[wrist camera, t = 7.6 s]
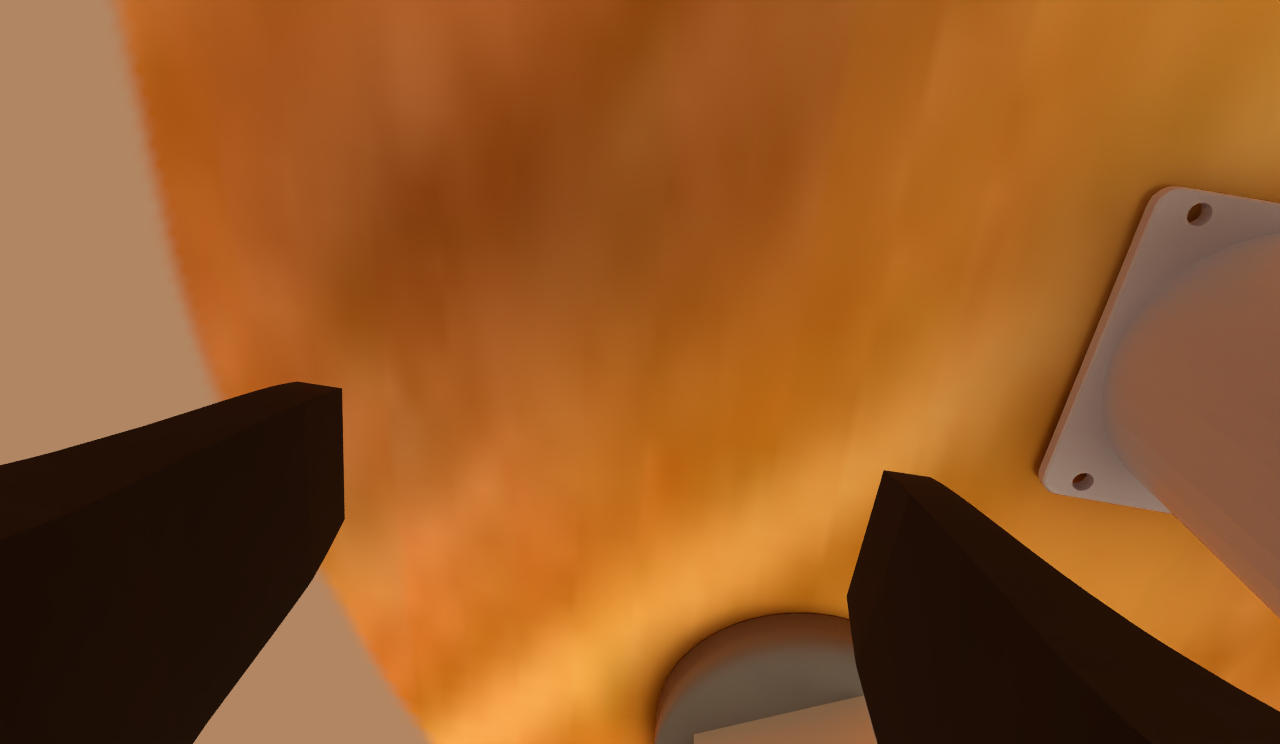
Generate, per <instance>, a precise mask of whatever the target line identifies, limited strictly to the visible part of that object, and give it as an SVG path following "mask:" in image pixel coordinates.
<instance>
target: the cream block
mask: <svg viewBox="0 0 1280 744" xmlns="http://www.w3.org/2000/svg"><path fill="white" fill-rule="evenodd" d="M694 744H877V740H876V737H875V733H874V730H873V726H872V723H871V719H870V715H869V712H868V708H867V704H866V701H865V698H864V695H863V696H859V697H854V698H850V699H846V700H841V701H837V702H833V703H828V704H824V705H820V706H815V707H811V708H806V709H802V710H798V711H793V712H789V713H785V714H780V715H776V716H772V717H767V718H763V719H759V720H754V721H750V722H745V723H741V724H737V725H732V726H728V727H724V728H719V729H715V730H711V731H706V732H702V733H698V734H694Z"/></svg>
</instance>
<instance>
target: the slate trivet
mask: <svg viewBox="0 0 1280 744" xmlns="http://www.w3.org/2000/svg"><path fill="white" fill-rule="evenodd" d="M863 695H864V693H863V690H862V686H861V682H860V679H859V675H858V671H857V667H856V662H855V655H854V649H853V642H852V635H851V627H850V620H847V619H843V618H839V617H834V616H828V615H820V614H810V613H789V614H778V615H770V616H765V617H760V618H754V619H751V620H747V621H744V622H741V623H738V624H735V625H732V626H730V627H728V628H726V629H723V630H721V631H719V632H717V633H715V634H713V635H712V636H710V637H708V638H707V639H705V640H703V641H702V642H700V643H699V644H698V645H697V646H695V647H694V648H693V649H692V650H690V651H689V652H688V653H687V654H686V655H685V656H684V657H683V658H682V659H681V660H680V661H679V662H678V663H677V665H676V666H675V668H674V669H673V670H672V672H671V673H670V675H669V676H668V678H667V680H666V682H665V684H664V686H663V688H662V691H661V694H660V697H659V701H658V706H657V714H656V726H655V740H654V744H694V734H698V733H702V732H706V731H711V730H715V729H719V728H724V727H728V726H732V725H737V724H741V723H745V722H750V721H754V720H759V719H763V718H767V717H772V716H776V715H780V714H785V713H789V712H793V711H798V710H802V709H806V708H811V707H815V706H820V705H824V704H828V703H833V702H837V701H841V700H846V699H850V698H854V697H859V696H863ZM864 698H865V697H864Z"/></svg>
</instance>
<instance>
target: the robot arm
mask: <svg viewBox="0 0 1280 744" xmlns="http://www.w3.org/2000/svg"><path fill="white" fill-rule="evenodd" d="M1198 203H1200V204H1201V206H1202V211H1201V214H1200V215H1199V217H1198V218H1197V219H1196V220H1194V221H1192V222H1188V220H1187V215H1188V212H1189V210H1190V209H1191V208H1192V207H1193V206H1194V205H1196V204H1198ZM1081 473H1087V474H1086V477H1085V478H1084V479H1083V480H1082V481H1080V482H1078V483H1072V482H1073V479H1074V478H1075V477H1076V476H1077V475H1079V474H1081ZM1038 476H1039V479H1040V482H1041V483H1042V484H1043V485H1044V487H1045V488H1046V489H1047V490H1048V491H1049V492H1052V493H1055V494H1059V495H1065V496H1070V497H1076V498H1082V499H1088V500H1094V501H1100V502H1106V503H1112V504H1117V505H1123V506H1129V507H1135V508H1141V509H1147V510H1153V511H1159V512H1164V513H1170V514H1173V515H1174V516H1175V517H1176V518H1177V519H1178V520H1179V521H1180V522H1181V523H1182V524H1184V525H1185V526H1186V527H1187V528H1188V529H1189V530H1190V531H1191V532H1192V533H1193V534H1194V535H1195V536H1196V537H1197V538H1198V539H1199V540H1200V541H1201V542H1202V543H1203V544H1204V545H1205V546H1206V547H1207V548H1208V549H1209V550H1210V551H1211V552H1212V553H1213V554H1214V555H1215V556H1216V557H1217V558H1218V559H1219V560H1220V561H1222V562H1223V563H1224V564H1225V565H1226V566H1227V567H1228V568H1229V569H1230V570H1231V571H1232V572H1233V573H1234V574H1235V575H1236V576H1237V577H1238V578H1239V579H1240V580H1241V581H1242V582H1243V583H1244V584H1245V585H1246V586H1247V587H1248V588H1249V589H1250V590H1251V591H1252V592H1253V593H1254V594H1255V595H1256V596H1257V597H1258V598H1260V599H1261V600H1262V601H1263V602H1264V603H1265V604H1266V605H1267V606H1268V607H1269V608H1270V609H1271V610H1272V611H1273V612H1274V613H1275V614H1276V615H1277V616H1278V617H1279V618H1280V203H1277V202H1271V201H1265V200H1259V199H1253V198H1247V197H1241V196H1235V195H1229V194H1223V193H1217V192H1211V191H1205V190H1199V189H1193V188H1187V187H1181V186H1169V187H1166V188H1164V189H1161V190H1159V191H1158V192H1157V193H1156V194H1154V195H1153V196H1152V197H1151V199H1150V201H1149V202H1148V204H1147V206H1146V208H1145V211H1144V213H1143V216H1142V218H1141V221H1140V223H1139V226H1138V228H1137V230H1136V233H1135V235H1134V238H1133V240H1132V243H1131V245H1130V248H1129V250H1128V253H1127V255H1126V257H1125V260H1124V262H1123V265H1122V267H1121V270H1120V272H1119V275H1118V277H1117V279H1116V282H1115V284H1114V287H1113V289H1112V292H1111V294H1110V297H1109V299H1108V302H1107V304H1106V306H1105V309H1104V311H1103V314H1102V316H1101V319H1100V321H1099V324H1098V326H1097V329H1096V331H1095V333H1094V336H1093V338H1092V341H1091V343H1090V346H1089V348H1088V351H1087V353H1086V355H1085V358H1084V360H1083V363H1082V365H1081V368H1080V370H1079V373H1078V375H1077V378H1076V380H1075V382H1074V385H1073V387H1072V390H1071V392H1070V395H1069V397H1068V400H1067V402H1066V405H1065V407H1064V409H1063V412H1062V414H1061V417H1060V419H1059V422H1058V424H1057V427H1056V429H1055V432H1054V434H1053V436H1052V439H1051V441H1050V444H1049V446H1048V449H1047V451H1046V454H1045V456H1044V458H1043V461H1042V463H1041V466H1040V468H1039V473H1038ZM344 519H345V514H344V465H343V415H342V388H336V387H329V386H323V385H316V384H309V383H303V382H292V383H286V384H281V385H276V386H272V387H268V388H265V389H261V390H258V391H254V392H251V393H247V394H244V395H241V396H237V397H234V398H231V399H228V400H225V401H221V402H218V403H215V404H212V405H209V406H206V407H202V408H200V409H196V410H193V411H190V412H187V413H184V414H180V415H178V416H174V417H171V418H168V419H165V420H162V421H158V422H155V423H152V424H149V425H146V426H143V427H139V428H136V429H132V430H129V431H125V432H122V433H118V434H115V435H111V436H108V437H104V438H101V439H97V440H94V441H91V442H87V443H84V444H80V445H76V446H73V447H69V448H67V449H63V450H59V451H56V452H52V453H48V454H44V455H40V456H36V457H33V458H29V459H25V460H20V461H16V462H13V463H8V464H4V465H0V744H193V743H194V741H195V740H196V738H197V737H198V735H199V734H200V732H201V731H202V729H203V728H204V726H205V725H206V724H207V722H208V721H209V720H210V718H211V716H213V714H214V713H215V711H216V710H217V709H218V708H219V706H220V705H221V703H222V702H223V701H224V699H225V698H226V697H227V695H228V694H229V693H230V691H231V690H232V689H233V687H234V686H235V685H236V683H237V682H238V681H239V679H240V678H241V677H242V675H243V674H244V672H245V671H246V670H247V669H248V667H249V666H250V664H251V663H252V662H253V660H254V659H255V658H256V656H257V655H258V654H259V652H260V651H261V650H262V648H263V647H264V646H265V644H266V643H267V642H268V640H269V639H270V638H271V636H272V635H273V634H274V632H275V631H276V630H277V628H278V627H279V625H280V624H281V623H282V621H283V620H284V618H285V617H286V616H287V614H288V613H289V612H290V610H291V609H292V608H293V606H294V605H295V603H296V602H297V601H298V599H299V598H300V597H301V595H302V594H303V592H304V591H305V590H306V588H307V587H308V585H309V584H310V582H311V581H312V579H313V578H314V576H315V574H316V572H317V570H318V569H319V567H320V565H321V563H322V561H323V560H324V558H325V556H326V554H327V552H328V551H329V549H330V547H331V545H332V543H333V541H334V539H335V537H336V535H337V533H338V531H339V529H340V527H341V525H342V523H343V521H344ZM847 602H848V610H849V619H850V627H851V635H852V642H853V649H854V655H855V662H856V667H857V671H858V675H859V679H860V682H861V686H862V690H863V693H864V697H865V701H866V704H867V708H868V712H869V715H870V719H871V723H872V726H873V730H874V733H875V737H876V740H877V744H1280V712H1279V711H1277V710H1276V709H1274V708H1272V707H1270V706H1268V705H1267V704H1265V703H1263V702H1261V701H1260V700H1258V699H1256V698H1254V697H1252V696H1251V695H1249V694H1247V693H1245V692H1243V691H1242V690H1240V689H1238V688H1236V687H1235V686H1233V685H1231V684H1230V683H1228V682H1226V681H1225V680H1223V679H1221V678H1220V677H1218V676H1216V675H1215V674H1213V673H1211V672H1210V671H1208V670H1206V669H1205V668H1203V667H1201V666H1200V665H1198V664H1196V663H1195V662H1193V661H1191V660H1190V659H1188V658H1186V657H1185V656H1183V655H1181V654H1180V653H1178V652H1176V651H1175V650H1173V649H1171V648H1170V647H1168V646H1167V645H1165V644H1164V643H1162V642H1160V641H1159V640H1157V639H1156V638H1154V637H1153V636H1151V635H1150V634H1148V633H1146V632H1145V631H1143V630H1142V629H1140V628H1139V627H1137V626H1136V625H1134V624H1133V623H1131V622H1130V621H1128V620H1127V619H1126V618H1124V617H1123V616H1121V615H1120V614H1118V613H1117V612H1115V611H1114V610H1112V609H1111V608H1110V607H1108V606H1107V605H1105V604H1104V603H1102V602H1101V601H1099V600H1098V599H1097V598H1095V597H1094V596H1092V595H1091V594H1089V593H1088V592H1086V591H1085V590H1084V589H1082V588H1081V587H1079V586H1078V585H1077V584H1075V583H1074V582H1073V581H1071V580H1070V579H1068V578H1067V577H1066V576H1064V575H1063V574H1062V573H1060V572H1059V571H1058V570H1056V569H1055V568H1053V567H1052V566H1051V565H1049V564H1048V563H1047V562H1045V561H1044V560H1043V559H1041V558H1040V557H1039V556H1037V555H1036V554H1035V553H1034V552H1032V551H1031V550H1030V549H1028V548H1027V547H1026V546H1024V545H1023V544H1022V543H1020V542H1019V541H1018V540H1017V539H1015V538H1014V537H1013V536H1011V535H1010V534H1009V533H1007V532H1006V531H1005V530H1004V529H1002V528H1001V527H1000V526H998V525H997V524H996V523H994V522H993V521H992V520H991V519H989V518H988V517H987V516H985V515H984V514H983V513H981V512H980V511H979V510H978V509H976V508H975V507H974V506H972V505H971V504H970V503H968V502H967V501H965V500H964V499H963V498H961V497H960V496H959V495H957V494H956V493H955V492H953V491H952V490H950V489H949V488H947V487H946V486H944V485H943V484H941V483H939V482H938V481H936V480H934V479H933V478H931V477H925V476H918V475H912V474H905V473H898V472H892V471H885V470H884V472H883V475H882V479H881V482H880V485H879V489H878V492H877V495H876V499H875V502H874V506H873V509H872V512H871V516H870V519H869V523H868V526H867V529H866V533H865V536H864V540H863V543H862V546H861V550H860V553H859V557H858V560H857V563H856V567H855V570H854V574H853V577H852V580H851V584H850V587H849V591H848V594H847Z"/></svg>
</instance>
